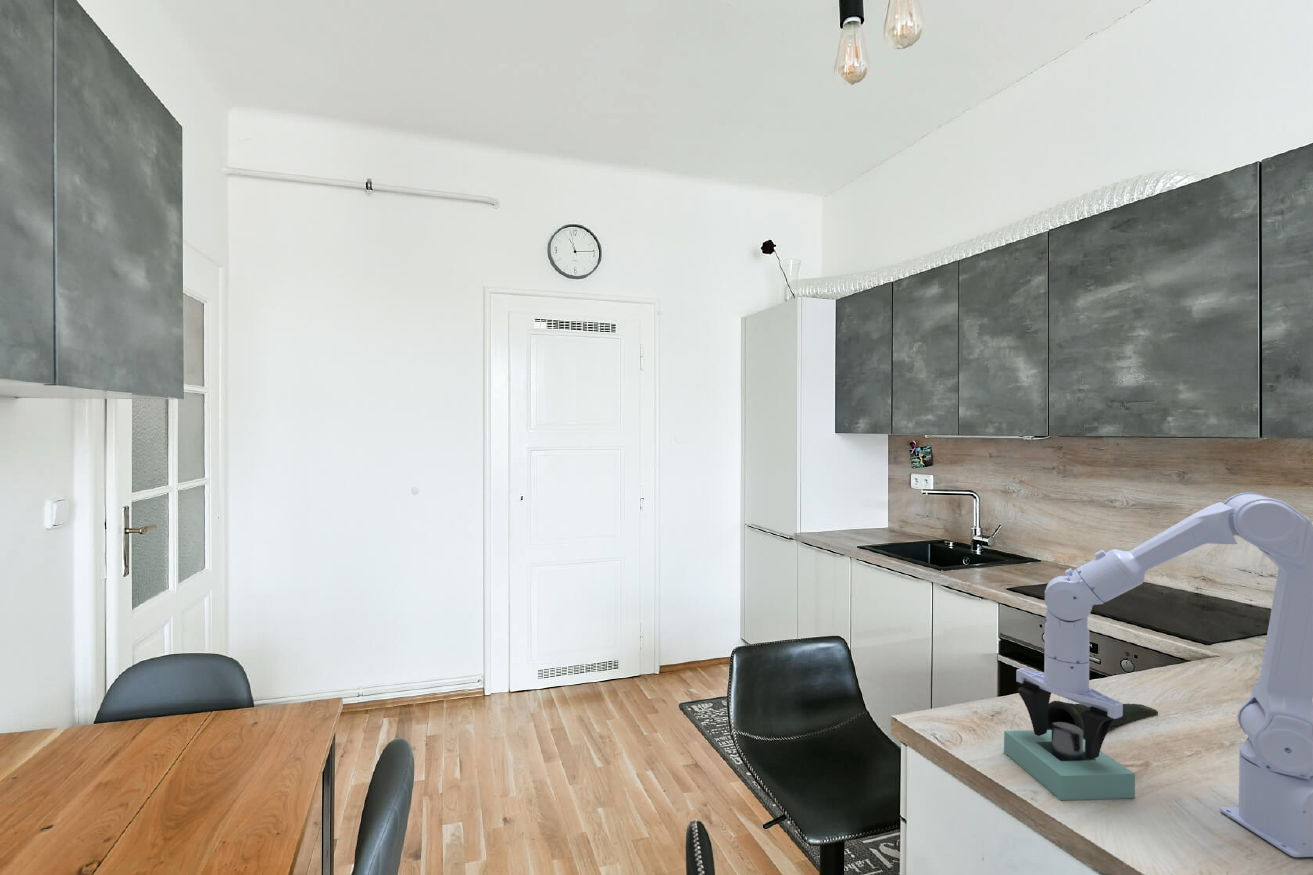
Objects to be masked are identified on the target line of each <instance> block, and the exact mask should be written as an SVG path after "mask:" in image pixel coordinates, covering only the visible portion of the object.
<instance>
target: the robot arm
mask: <svg viewBox="0 0 1313 875" xmlns="http://www.w3.org/2000/svg"><path fill="white" fill-rule="evenodd" d="M1235 536H1238V537H1240V538H1242V540H1244V541H1246V542H1248V543H1249V544H1251V545H1253V546H1255V547H1257V548H1258V550H1260V552H1262V554H1264V555H1265V556H1266V557H1267V558H1268V559H1269V560H1270V561H1271V562H1272V563H1274V565H1275V566H1277V568H1278V571H1277V577H1276V583H1275V588H1274V593H1273V594H1274V595H1273V598H1272V599H1273V600H1272V605H1271V609H1270V617H1269V622H1268V628H1267V634H1266V639H1265V643H1264V644H1265V645H1264V650H1263V657H1262V663H1261V667H1260V674H1259V678H1258V681H1257V682H1256V683H1255V684H1254V685H1252V689H1251V694H1250V697H1249V698H1248V700H1247V701H1246V702H1244V703H1243V704H1242V705H1241V706H1240V708H1239V710H1238V711H1237V723H1238V725H1239V727H1240V728H1241V730H1242V731H1243V733H1244V734H1245V735H1246V736H1247V738H1246V740H1245V741H1244V742H1243V744H1241V746H1240V747H1239V758H1238V760H1239V762H1238V763H1239V765H1238V770H1239V771H1238V806H1223V807H1222V806H1221V807H1219V811H1220V812H1222V814H1225V816H1227V817H1229V818H1230V819H1232V820H1233V821H1235V822H1237V823H1239V825H1241V826H1243V827H1245V828H1246V829H1248V830H1249V831H1250V832H1253V833H1254V834H1256V835H1257V836H1259V837H1260V838H1262V839H1263V840H1265V841H1266V842H1268V843H1270V844H1271V845H1272V846H1274V847H1276V848H1278V849H1280V850H1281V851H1282V852H1284V853H1285V854H1287V855H1289V856H1291V857H1293V858H1313V523H1312V521H1311V519H1310V518H1308V517H1307V516H1305V515H1304V514H1303V513H1302V512H1300V511H1298V510H1297V509H1296V508H1295V507H1293V506H1292V505H1290V504H1289V503H1287V502H1284V501H1283V500H1280V499H1276V498H1271V497H1268V496H1266V495H1264V494H1261V493H1257V492H1240V493H1237V494H1234V495H1231V496H1230V497H1229V498H1227V499H1226V500H1225V501H1224V502H1222V501H1219V502H1217V503H1213V504H1211V505H1209V506H1206V507H1204V508H1203V509H1201V510H1199V511H1197V512H1195V513H1193V514H1191V515H1189V516H1188V517H1186V518H1184V519H1182V520H1181V521H1179V522H1177V523H1176V524H1173V525H1172V526H1169V528H1166V529H1165V530H1164V531H1162V532H1160V533H1159V534H1156V535H1155V536H1153V537H1151V538H1150V539H1148V540H1146V541H1145V542H1143V543H1141V544H1139V545H1137V546H1136V547H1134V548H1133V549H1130V550H1128V551H1127V550H1120V549H1116V548H1113V549H1110V550H1109V551H1106V552H1105V550H1104V549H1100V550H1099V551H1097V552H1095V553H1094V556H1095V557H1096V558H1095V557H1094V558H1093V559H1092V560H1090V561H1088V562H1086V563H1085V564H1084V563H1083V565H1081V566H1078V567H1077V568H1075V569H1074V570H1073V569H1072V568H1071V567H1070V568H1068V569H1066V570H1065V571H1064V573H1065V575H1059V576H1056V577H1054V578H1052V579H1051V580H1049V581H1048V583H1047V584H1046V587H1045V590H1044V603H1045V605H1046V607H1047V609H1046V611H1045V619H1046V622H1045V624H1044V652H1043V653H1044V660H1043V661H1044V666H1043V668H1044V672H1041V671H1035V670H1032V669H1028V668H1026V667H1022V668H1019V669H1018V668H1017V669H1016V673H1015V674H1016V682H1018V683H1020V684H1022V686H1021V687H1018V689H1017V691H1018V694H1019V696H1020V698H1021V700H1022V701H1023V703H1024V705H1025V708H1026V710H1027V712H1028V715H1029V718H1030V720H1031V721H1030V722H1031V725H1032V730H1034V734H1035V735H1037V736H1040V735H1043V734H1046V733H1047V727H1048V706H1049V703H1050V699H1051V696H1052V694H1053V695H1056V696H1058V697H1061V698H1063V699H1066V700H1068V701H1072V702H1074V703H1076V704H1082V705H1085V706H1087V707H1090V710H1087V711H1084V712H1081V717H1082V721H1083V725H1084V730H1085V735H1084V740H1085V754H1086V758H1088V759H1091V760H1092V759H1094V758H1097V757H1099V753H1100V751H1101V750H1102V746H1103V743H1104V740H1105V738H1106V737H1107V734H1108V733H1109V731H1110V730H1111V727H1113V726H1112V725H1113V723H1114V722H1115V721H1116V720H1117V718H1119V717H1122V716H1123V704H1124V703H1123V702H1121V701H1118V700H1115V699H1114V698H1111V697H1109V696H1107V695H1105V694H1103V693H1101V692H1100V691H1097V690H1096V689H1093V688H1092V687H1090V642H1091V641H1090V635H1091V634H1090V629H1089V627H1088V617H1089V615H1090V614H1091V612H1092V610H1093V606H1094V605H1095V606H1096V605H1104V603H1106V602H1109V601H1111V600H1113V599H1115V598H1117V597H1119V596H1120V595H1123V594H1124V593H1125V594H1126V593H1127V592H1128V591H1130V590H1133V589H1135V588H1136V587H1139V586H1140V585H1142V584H1143V583H1144V581H1145V574H1146V572H1147V571H1148V570H1151V569H1152V568H1155V567H1157V566H1159V565H1161V564H1163V563H1165V562H1168V561H1170V560H1173V559H1174V558H1176V557H1178V556H1180V555H1183V554H1185V553H1187V552H1189V551H1192V550H1194V549H1195V548H1198V547H1200V546H1203V545H1207V544H1215V545H1237V544H1238V543H1237V540H1236V538H1235Z"/></svg>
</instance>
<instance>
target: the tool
mask: <svg viewBox="0 0 1313 875" xmlns="http://www.w3.org/2000/svg"><path fill="white" fill-rule="evenodd" d="M1087 710H1090V707H1087V706H1085V705H1082V704H1079V703H1073V702H1064V701H1061V700H1060V701H1059V700H1053V701H1049V706H1048V727H1047V730H1052V723H1055V722H1064V723H1069V724H1072V725H1075V726H1077V727H1079V728H1080V729H1082V730H1083V737H1085V730H1084V725H1083V721H1082V717H1081V712H1084V711H1087ZM1158 714H1159V711H1158V710H1156V709H1155V708H1152V707H1150V706H1148V705H1144V704H1138V703H1123V716H1122V717H1119V718H1117V720H1116V721H1115V722H1114V723H1113V725H1112V726H1111V727H1115V725H1116V726H1120V725H1124V724H1128V723H1132V721H1133V722H1137V721H1141V720H1145V719H1148V717H1149V718H1152V717H1155V716H1157V715H1158ZM1136 720H1137V721H1136ZM1123 723H1124V724H1123ZM1119 724H1120V725H1119Z"/></svg>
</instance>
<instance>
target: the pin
mask: <svg viewBox="0 0 1313 875" xmlns="http://www.w3.org/2000/svg"><path fill="white" fill-rule="evenodd" d="M1083 739H1084V736H1083V730H1082V729H1080V728H1079V727H1077V726H1075V725H1072V724H1069V723H1064V722H1055V723H1052V751H1051V754H1052V755H1053V756H1055V757H1056V758H1057V759H1059V760H1060V761H1083Z"/></svg>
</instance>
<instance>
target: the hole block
mask: <svg viewBox="0 0 1313 875" xmlns="http://www.w3.org/2000/svg"><path fill="white" fill-rule="evenodd" d="M1003 732H1004V734H1003V752H1004V754H1006V755H1007V756H1008V757H1009V758H1010V759H1011V760H1012V761H1014V762H1015V763H1016V764H1017V765H1018V766H1020V767H1021V768H1022V769H1023V770H1024V771H1025V772H1027V773H1028V775H1030V776H1032V777H1033V779H1035V780H1036V781H1038V783H1040V784H1041V785H1042V786H1043V787H1044V788H1045V789H1046V790H1048V791H1049V792H1051V793H1052V795H1053V796H1055V797H1056V798H1058V799H1059V800H1060V801H1079V800H1081V801H1082V800H1085V801H1086V800H1087V801H1088V800H1109V799H1111V800H1113V799H1115V800H1116V799H1135V798H1136V797H1135V795H1136V773H1135V772H1133V771H1131V770H1130V769H1129V768H1127V767H1126V766H1124V765H1123V764H1121V763H1120V762H1118V761H1117V760H1115V759H1114V758H1112V757H1111V756H1109V755H1108V754H1106V752H1105V753H1104V752H1103V751H1102V750H1100V753H1099V757H1097V758H1094V759H1092V760H1091V759H1088V758H1086V754H1085V738H1083V761H1060V760H1059V759H1057V758H1056V757H1055V756H1053V755H1052V754H1051V751H1052V730H1047V733H1046V734H1043V735H1040V736H1037V735H1035V734H1034V729H1032V730H1030V729H1029V730H1004V731H1003Z"/></svg>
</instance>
